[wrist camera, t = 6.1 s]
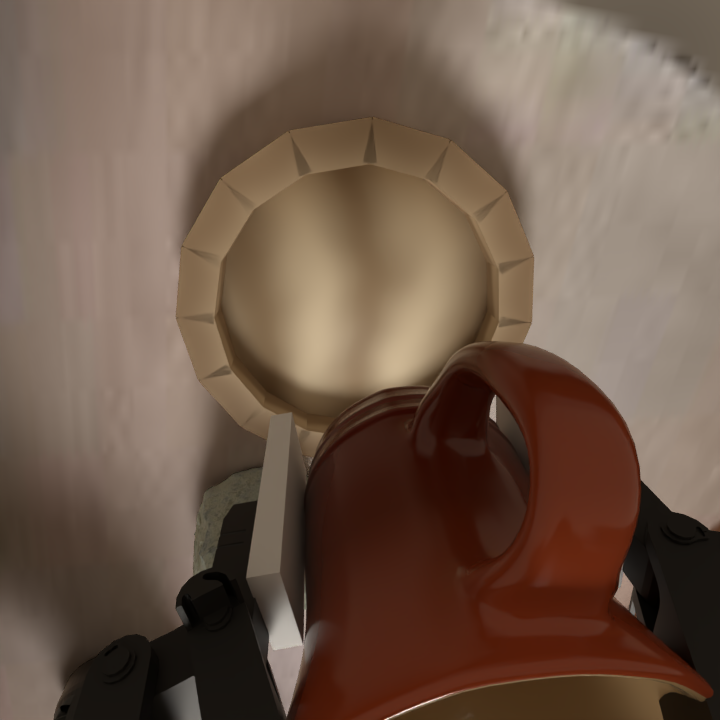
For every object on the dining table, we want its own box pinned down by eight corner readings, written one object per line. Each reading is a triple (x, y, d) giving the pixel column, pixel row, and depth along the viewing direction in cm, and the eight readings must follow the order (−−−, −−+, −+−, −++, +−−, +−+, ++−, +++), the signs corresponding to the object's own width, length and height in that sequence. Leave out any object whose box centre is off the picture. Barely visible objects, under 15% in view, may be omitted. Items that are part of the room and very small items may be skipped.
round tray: (241, 457, 32) (235, 483, 30) (139, 156, 23) (118, 158, 21) (511, 409, 32) (528, 431, 30) (515, 94, 23) (539, 89, 21)
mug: (482, 539, 20) (630, 885, 10) (283, 536, 18) (252, 924, 9) (569, 274, 15) (1005, 498, 5) (301, 247, 13) (274, 475, 4)
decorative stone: (245, 415, 30) (138, 549, 24) (382, 498, 30) (307, 657, 24) (237, 479, 41) (160, 584, 35) (338, 541, 40) (278, 660, 34)
